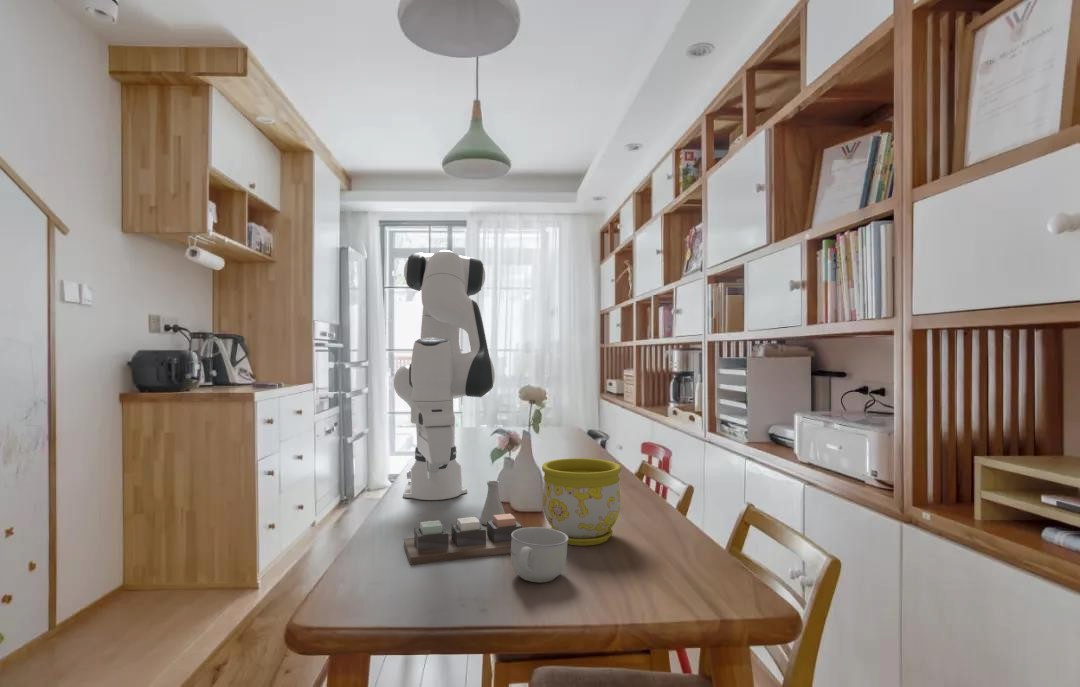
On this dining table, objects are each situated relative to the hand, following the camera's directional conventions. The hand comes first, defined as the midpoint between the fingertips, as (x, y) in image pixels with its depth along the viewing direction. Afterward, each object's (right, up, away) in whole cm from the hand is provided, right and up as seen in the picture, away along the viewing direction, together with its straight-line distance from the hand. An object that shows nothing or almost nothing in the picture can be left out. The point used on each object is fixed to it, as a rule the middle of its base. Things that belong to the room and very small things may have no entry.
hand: (432, 479), depth 123 cm
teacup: (+22, -15, -14) cm, 30 cm away
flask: (+11, -16, +22) cm, 29 cm away
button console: (+7, -15, +3) cm, 17 cm away
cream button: (+7, -11, +3) cm, 14 cm away
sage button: (0, -11, 0) cm, 11 cm away
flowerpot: (+32, -16, +10) cm, 37 cm away
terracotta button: (+15, -11, +5) cm, 19 cm away
